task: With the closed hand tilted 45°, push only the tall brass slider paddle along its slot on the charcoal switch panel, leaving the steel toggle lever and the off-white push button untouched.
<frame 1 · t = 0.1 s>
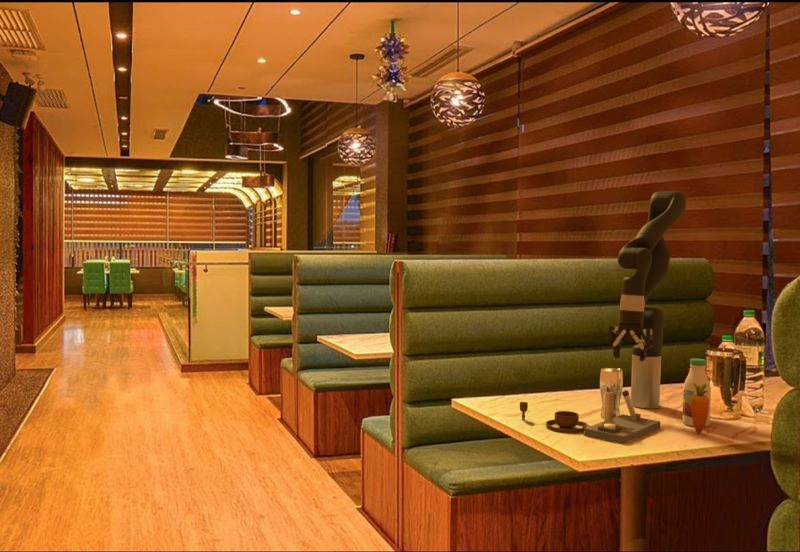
hand: (629, 359, 238), 17 cm above the table, tool pointing down, fingers open, 8 cm apart
push button: (609, 427, 209), point 3 cm above the table, slide at 0.0 cm
carrot: (698, 434, 213), on the table
milk bottle: (695, 425, 225), on the table
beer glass: (610, 417, 233), on the table
place setting: (557, 427, 222), on the table
switch panel: (623, 431, 215), on the table
toggle lever: (629, 404, 222), point 6 cm above the table, hinge at 24.0°
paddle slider: (609, 408, 214), point 7 cm above the table, slide at 0.0 cm
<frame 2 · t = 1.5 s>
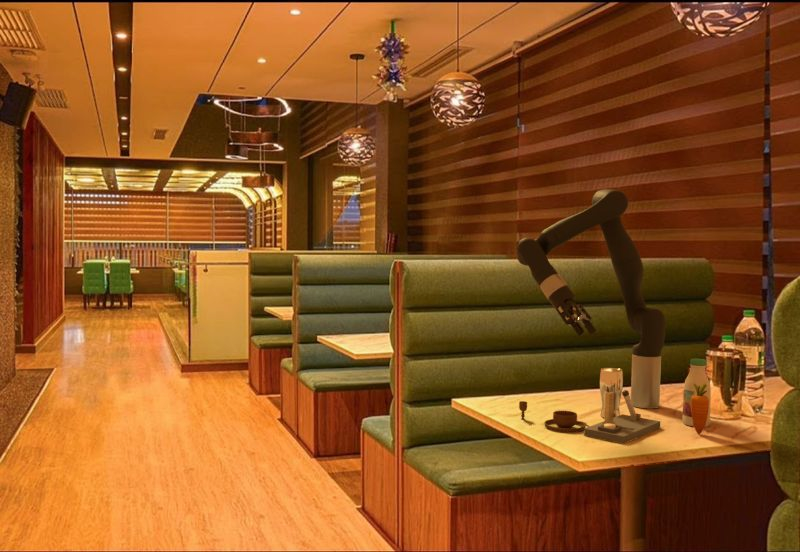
hand: (588, 333, 224), 27 cm above the table, tool tilted 40°, fingers open, 8 cm apart
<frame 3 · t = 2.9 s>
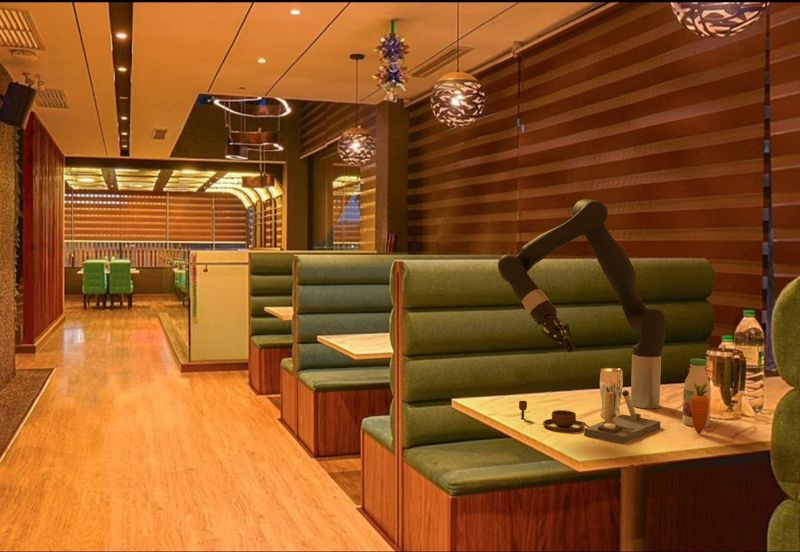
hand: (572, 350, 224), 22 cm above the table, tool tilted 45°, fingers closed
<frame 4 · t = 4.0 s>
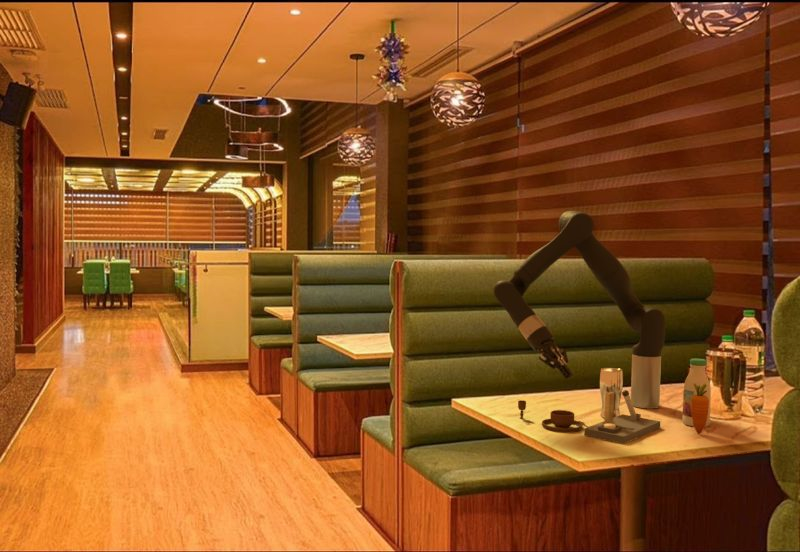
hand: (569, 377, 223), 14 cm above the table, tool tilted 45°, fingers closed
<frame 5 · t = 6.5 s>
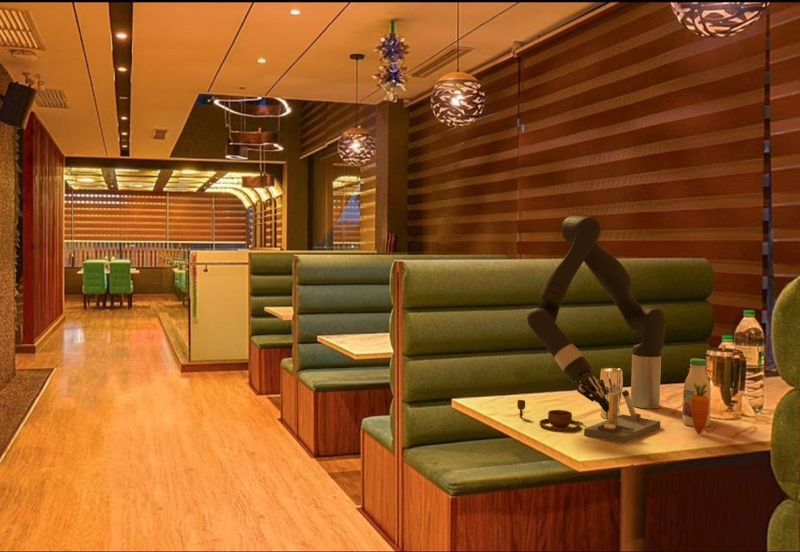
hand: (609, 410, 214), 6 cm above the table, tool tilted 45°, fingers closed
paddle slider: (613, 409, 214), point 7 cm above the table, slide at 1.2 cm, touching gripper
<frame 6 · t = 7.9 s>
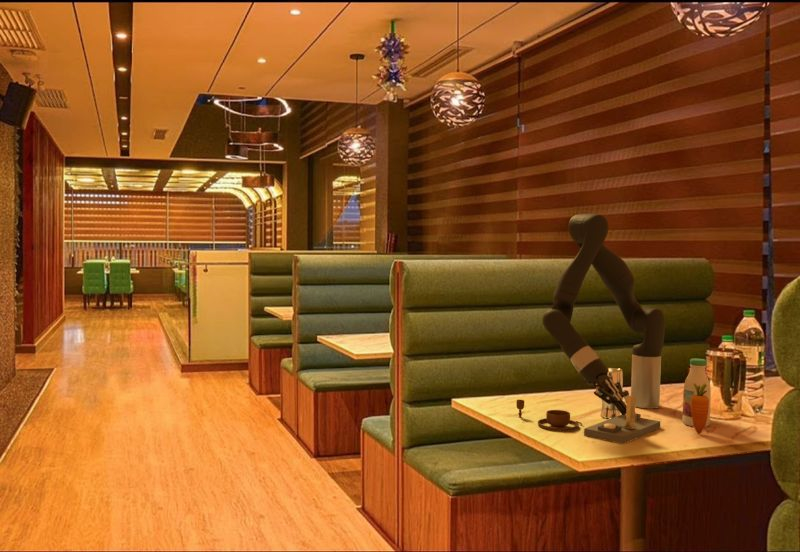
hand: (626, 413, 211), 6 cm above the table, tool tilted 45°, fingers closed
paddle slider: (630, 412, 210), point 7 cm above the table, slide at 6.6 cm, touching gripper
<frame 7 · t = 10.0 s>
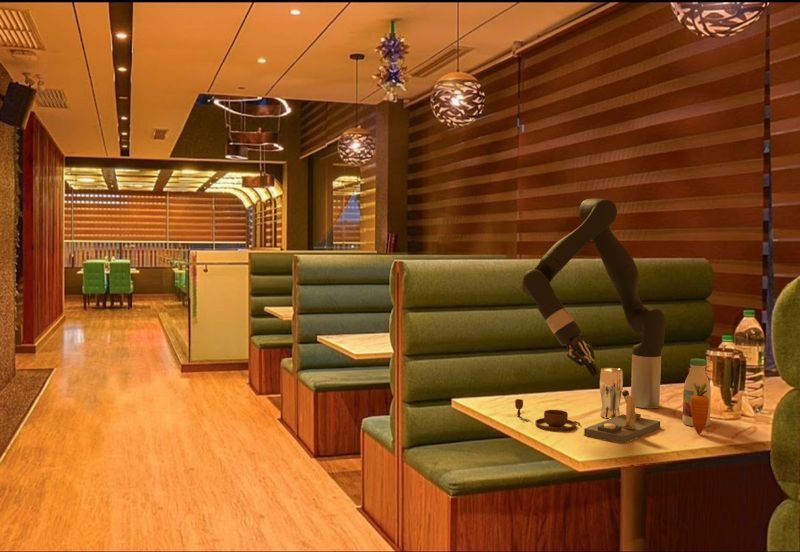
hand: (596, 374, 221), 15 cm above the table, tool tilted 40°, fingers closed
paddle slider: (630, 412, 210), point 7 cm above the table, slide at 6.5 cm
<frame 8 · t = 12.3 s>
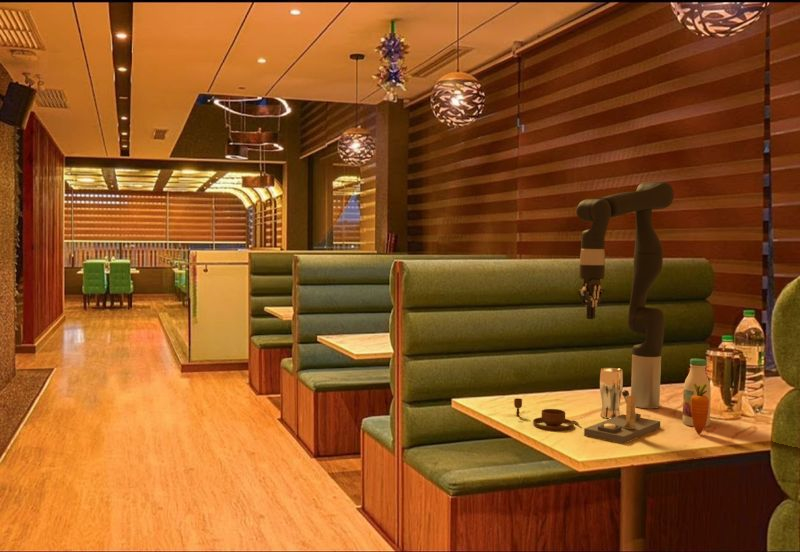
hand: (590, 318, 231), 31 cm above the table, tool pointing down, fingers closed
at the end: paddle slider slide at 6.5 cm; toggle lever at +24° (first picture: +24°); push button slide at 0.0 cm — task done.
